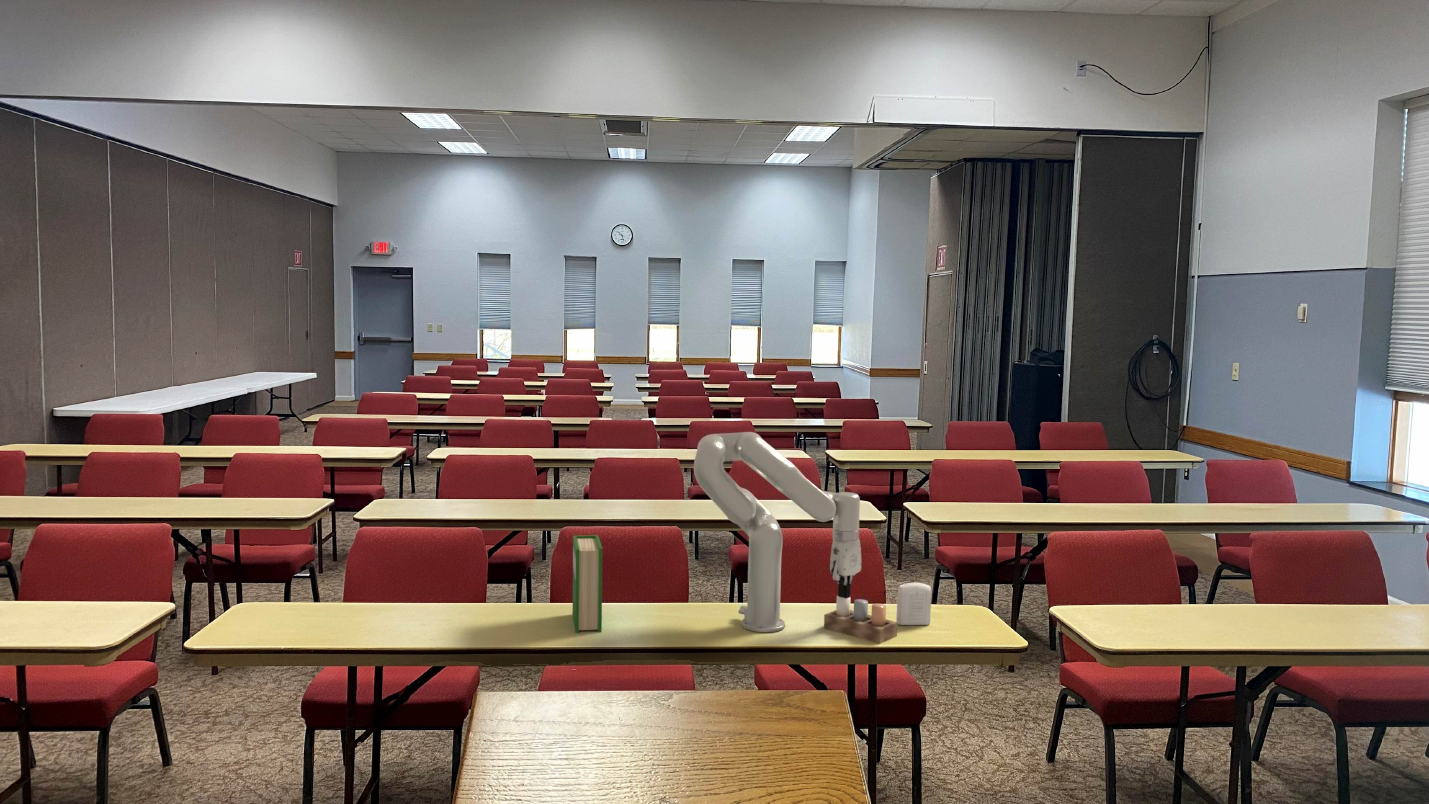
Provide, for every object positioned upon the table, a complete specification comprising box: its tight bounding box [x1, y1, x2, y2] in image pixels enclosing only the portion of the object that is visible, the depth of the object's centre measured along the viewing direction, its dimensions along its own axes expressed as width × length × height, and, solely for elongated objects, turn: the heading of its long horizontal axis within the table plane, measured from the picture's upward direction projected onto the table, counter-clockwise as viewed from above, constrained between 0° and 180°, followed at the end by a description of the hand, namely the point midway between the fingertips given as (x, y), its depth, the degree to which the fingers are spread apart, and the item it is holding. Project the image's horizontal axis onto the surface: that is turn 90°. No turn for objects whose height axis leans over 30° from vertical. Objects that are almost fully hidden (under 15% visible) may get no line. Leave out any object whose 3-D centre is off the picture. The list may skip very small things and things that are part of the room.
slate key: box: [853, 598, 869, 622], centre depth 262 cm, size 4×4×7 cm
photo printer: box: [895, 582, 932, 626], centre depth 271 cm, size 10×4×12 cm, turn 98°
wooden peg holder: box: [823, 609, 898, 644], centre depth 262 cm, size 19×9×4 cm, turn 48°
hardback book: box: [571, 534, 604, 634], centre depth 265 cm, size 18×7×24 cm, turn 11°
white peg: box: [835, 595, 851, 617], centre depth 266 cm, size 4×4×7 cm
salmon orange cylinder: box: [870, 603, 887, 627], centre depth 258 cm, size 4×4×7 cm
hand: (844, 596), depth 266 cm, fingers closed
